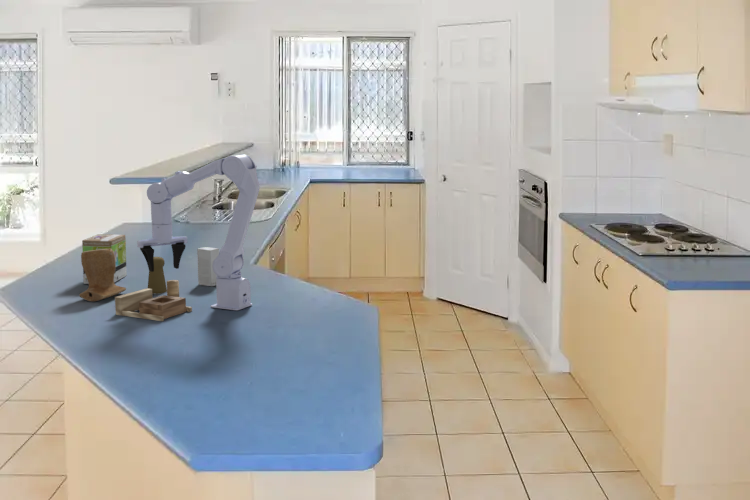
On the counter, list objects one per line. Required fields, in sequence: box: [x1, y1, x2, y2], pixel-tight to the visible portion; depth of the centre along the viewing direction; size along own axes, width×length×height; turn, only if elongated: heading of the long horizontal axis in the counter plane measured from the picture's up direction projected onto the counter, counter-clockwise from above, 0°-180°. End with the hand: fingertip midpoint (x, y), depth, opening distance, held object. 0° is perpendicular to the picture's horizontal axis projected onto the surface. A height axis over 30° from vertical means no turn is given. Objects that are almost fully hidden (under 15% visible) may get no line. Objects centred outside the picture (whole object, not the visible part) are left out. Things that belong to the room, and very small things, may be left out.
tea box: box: [81, 233, 128, 285], centre depth 276 cm, size 15×10×15 cm, turn 179°
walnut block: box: [138, 294, 187, 320], centre depth 232 cm, size 8×10×4 cm
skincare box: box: [196, 246, 220, 287], centre depth 270 cm, size 6×4×12 cm
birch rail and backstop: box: [114, 287, 193, 322], centre depth 233 cm, size 16×13×5 cm
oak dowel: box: [166, 279, 180, 297], centre depth 243 cm, size 3×3×7 cm
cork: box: [147, 256, 167, 295], centre depth 260 cm, size 6×6×11 cm
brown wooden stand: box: [78, 248, 127, 303], centre depth 251 cm, size 15×12×15 cm
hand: (163, 269), depth 244 cm, fingers open, 7 cm apart
